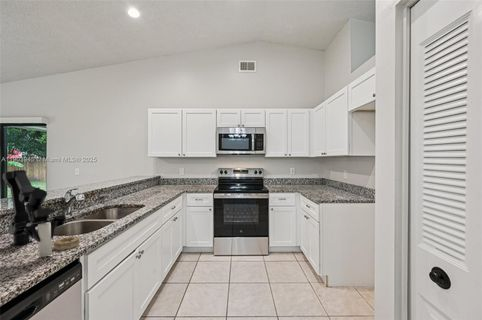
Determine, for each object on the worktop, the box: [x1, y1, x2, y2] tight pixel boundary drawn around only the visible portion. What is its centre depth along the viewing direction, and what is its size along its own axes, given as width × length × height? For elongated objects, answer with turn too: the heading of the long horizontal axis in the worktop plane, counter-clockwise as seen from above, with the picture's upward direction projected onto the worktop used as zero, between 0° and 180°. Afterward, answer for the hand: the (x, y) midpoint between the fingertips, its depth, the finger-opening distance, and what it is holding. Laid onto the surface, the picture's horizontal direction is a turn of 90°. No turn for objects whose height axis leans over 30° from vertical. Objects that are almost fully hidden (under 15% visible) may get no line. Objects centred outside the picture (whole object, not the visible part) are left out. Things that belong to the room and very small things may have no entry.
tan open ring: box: [53, 236, 80, 251], centre depth 124 cm, size 10×10×3 cm
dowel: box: [37, 222, 53, 258], centre depth 110 cm, size 4×4×14 cm
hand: (46, 239), depth 109 cm, fingers closed on dowel, 4 cm apart
